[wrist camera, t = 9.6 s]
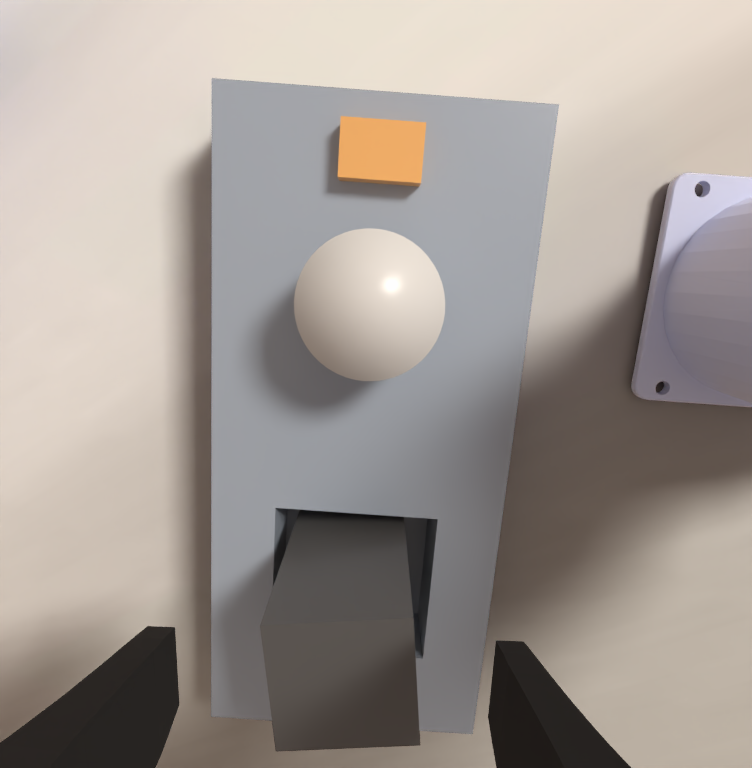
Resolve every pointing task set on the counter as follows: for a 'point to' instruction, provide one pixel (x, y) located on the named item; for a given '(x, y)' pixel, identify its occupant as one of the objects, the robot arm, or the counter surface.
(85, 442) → the counter surface
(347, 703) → the plug
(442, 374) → the power strip
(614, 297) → the counter surface
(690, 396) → the robot arm
